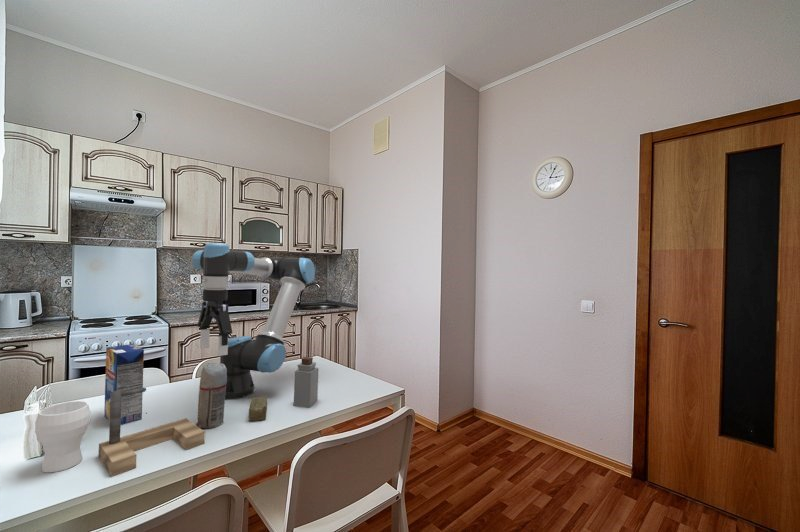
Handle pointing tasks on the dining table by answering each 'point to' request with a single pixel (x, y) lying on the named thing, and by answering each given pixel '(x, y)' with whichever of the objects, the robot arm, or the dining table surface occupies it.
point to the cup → (62, 434)
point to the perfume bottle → (306, 383)
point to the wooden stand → (141, 437)
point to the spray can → (212, 395)
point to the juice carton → (124, 380)
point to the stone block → (258, 409)
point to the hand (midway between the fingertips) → (213, 351)
